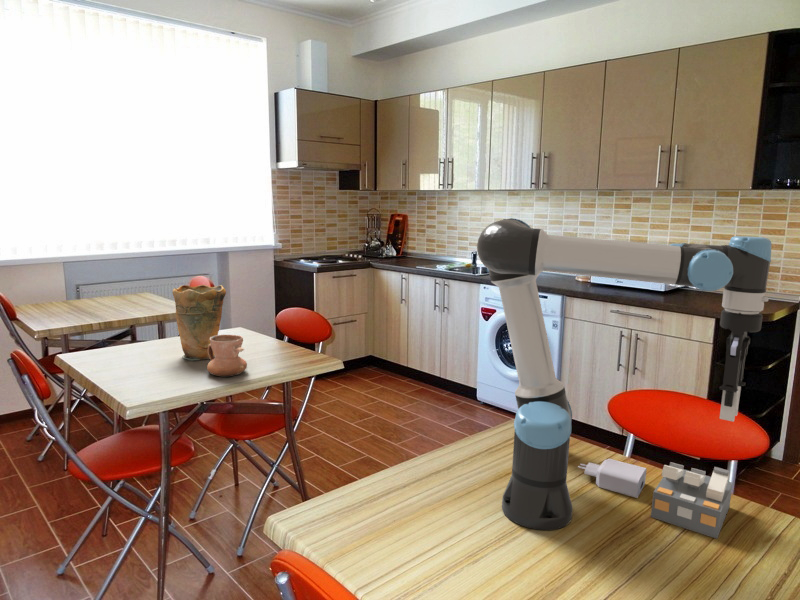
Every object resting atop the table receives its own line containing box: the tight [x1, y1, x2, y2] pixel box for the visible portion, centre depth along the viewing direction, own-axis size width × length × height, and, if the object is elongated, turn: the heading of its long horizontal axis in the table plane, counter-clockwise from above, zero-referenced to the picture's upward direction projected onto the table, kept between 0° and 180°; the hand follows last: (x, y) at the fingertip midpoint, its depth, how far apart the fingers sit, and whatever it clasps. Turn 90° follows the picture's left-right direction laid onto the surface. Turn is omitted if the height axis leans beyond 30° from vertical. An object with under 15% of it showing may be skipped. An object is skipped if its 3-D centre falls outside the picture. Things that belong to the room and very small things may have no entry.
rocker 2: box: [684, 467, 707, 487], centre depth 128 cm, size 8×3×2 cm, turn 143°
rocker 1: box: [661, 461, 685, 480], centre depth 130 cm, size 8×3×2 cm, turn 143°
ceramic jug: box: [206, 334, 248, 377], centre depth 219 cm, size 18×14×14 cm
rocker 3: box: [706, 466, 730, 502], centre depth 125 cm, size 8×3×2 cm, turn 143°
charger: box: [577, 458, 647, 499], centre depth 142 cm, size 5×9×15 cm
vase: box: [172, 284, 227, 361], centre depth 240 cm, size 21×20×30 cm
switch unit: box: [650, 469, 733, 539], centre depth 128 cm, size 16×13×7 cm
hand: (728, 416), depth 125 cm, fingers open, 4 cm apart
